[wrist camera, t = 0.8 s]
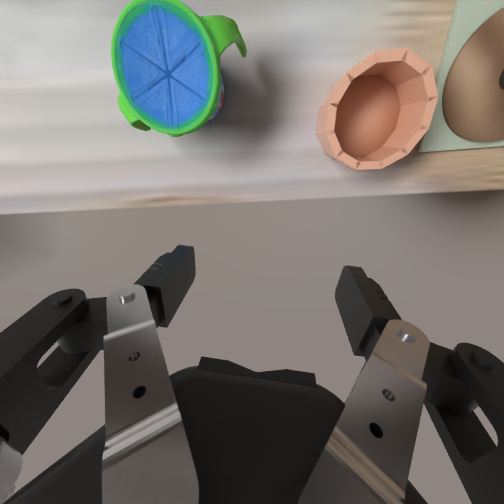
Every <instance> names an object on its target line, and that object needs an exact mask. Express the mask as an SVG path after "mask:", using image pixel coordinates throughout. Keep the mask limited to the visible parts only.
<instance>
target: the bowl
mask: <svg viewBox="0 0 504 504" xmlns="http://www.w3.org/2000/svg"><path fill="white" fill-rule="evenodd" d="M355 78H356V79H355ZM437 100H438V91H437V87H436V83H435V78H434V74H433V69H432V65H430V64H429V63H428V62H426V61H425V60H424V59H422V58H421V57H420V56H418V55H417V54H416V53H414V52H413V51H412V50H410V49H409V48H404V49H393V50H381V51H375V52H374V53H373V54H371V55H370V56H368V57H367V58H366V59H364V60H363V61H362V62H360V63H359V64H357V65H356V66H355V67H353V68H352V69H350V70H349V71H348V72H346V73H345V74H344V75H343V76H342V77H341V78H340V79H339V80H338V81H337V82H335V83H334V84H333V85H332V87H331V88H330V90H329V92H328V94H327V95H326V97H325V99H324V101H323V103H322V104H321V106H320V108H319V110H318V120H317V132H316V135H317V137H318V139H319V142H320V144H321V146H322V148H323V151H324V153H325V154H326V155H328V156H329V157H331V158H333V159H334V160H336V161H338V162H339V163H341V164H343V165H345V166H348V167H350V168H353V169H355V170H366V169H382V168H384V167H386V166H388V165H390V164H392V163H393V162H395V161H397V160H399V159H401V158H403V157H404V156H406V155H408V154H409V152H410V151H411V150H412V149H413V148H414V146H415V145H416V144H417V143H418V141H419V140H420V139H421V138H422V137H423V135H424V134H425V133H426V132H427V130H428V129H429V127H430V123H431V120H432V116H433V113H434V110H435V106H436V103H437Z"/></svg>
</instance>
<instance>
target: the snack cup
mask: <svg viewBox="0 0 504 504" xmlns="http://www.w3.org/2000/svg"><path fill="white" fill-rule="evenodd" d="M232 43H236V45H237V47H238V49H239V51H240V53H241V54H242V56H243V57H246V54H247V50H246V46H245V43H244V41H243V38H242V37H241V34H240V32H239V29H238V26H237V24H236V22H235V21H234V20H233V19H231V18H228V17H225V16H220V15H212V16H205V17H203V16H202V17H200V16H198V15H196V14H195V13H194V12H193V11H192V10H191V9H190V8H189V7H188V6H187V5H185V4H184V3H182V2H181V1H180V0H133V1H131V2H130V3H129V4H128V5H127V6H126V7H125V9H124V10H123V11H122V13H121V14H120V16H119V18H118V20H117V23H116V25H115V28H114V32H113V36H112V45H111V58H112V67H113V72H114V76H115V80H116V83H117V85H118V88H119V90H120V91H119V97H118V104H119V108H120V110H121V112H122V113H123V115H124V116H125V118H126V119H127V121H128V122H129V123H130V124H131V126H133V127H135V128H137V129H140V130H144V131H148V130H150V129H151V128H152V129H154V130H156V131H158V132H161V133H165V134H169V135H170V136H173V137H179V136H182V135H184V134H188V133H191V132H194V131H196V130H198V129H199V128H200V127H202V126H203V125H204V124H205V123H206V122H209V121H210V120H211V119H213V118H214V117H215V116H216V115H217V114H218V113H219V111H220V109H221V107H222V104H223V100H224V82H223V78H222V74H221V70H220V56H221V54H222V53H223V52H224V50H225V49H226V48H227V47H229V46H230V45H231V44H232Z"/></svg>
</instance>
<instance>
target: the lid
mask: <svg viewBox="0 0 504 504" xmlns="http://www.w3.org/2000/svg"><path fill="white" fill-rule="evenodd" d="M442 111H443V116H444V119H445V122H446V123H447V125H448V127H449V128H450V129H451V131H452V132H453V133H455V134H456V135H457V136H459V137H461V138H463V139H465V140H468V141H474V142H491V141H498V140H502V139H504V7H503V8H501V9H500V10H499V11H497V12H496V13H495V14H493V15H492V16H491V17H489V18H488V19H487V20H486V21H485V22H484V23H483V24H481V25H480V27H479V28H478V29H477V30H476V31H475V32H474V33H473V34H472V35H471V36H470V37H469V39H468V40H467V41H466V42H465V44H464V45H463V47H462V48H461V50H460V51H459V52H458V54H457V56H456V58H455V59H454V61H453V63H452V65H451V67H450V70H449V72H448V75H447V77H446V80H445V84H444V88H443V94H442Z"/></svg>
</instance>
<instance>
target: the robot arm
mask: <svg viewBox="0 0 504 504" xmlns="http://www.w3.org/2000/svg"><path fill="white" fill-rule="evenodd" d="M194 278H195V254H194V248H193V247H192V246H185V245H178V246H177V247H176V248H175V249H174V250H173V252H172V253H166V254H164V255H162V256H160V257H159V258H158V259H157V260H156V261H155V262H154V264H152V265H151V266H150V268H149V269H148V270H147V271H146V272H145V273H144V274H143V275H142V276H141V277H140V278H139V279H138V280H137V281H136V282H135V283H134V284H131V285H125V286H122V287H119V288H117V289H115V290H114V291H112V292H111V293H110V294H109V295H108V297H101V298H91V299H87V297H86V295H85V293H84V291H82V290H80V289H67V290H62V291H59V292H56V293H54V294H52V295H50V296H48V297H47V298H45V299H44V300H42V301H41V302H40V303H39V304H37V305H36V306H35V307H33V308H32V309H31V310H30V311H28V312H27V313H26V314H24V315H23V316H22V317H20V318H19V319H18V320H17V321H15V322H14V323H13V324H11V325H10V326H9V327H7V328H6V329H5V330H4V331H2V332H1V333H0V504H428V503H427V502H426V501H425V500H424V498H423V497H422V496H421V495H420V494H419V492H418V491H417V490H416V489H415V487H414V486H413V485H412V484H411V483H410V481H409V480H408V476H409V471H410V466H411V461H412V456H413V452H414V447H415V442H416V437H417V432H418V428H419V423H420V418H421V412H422V408H423V403H424V405H425V407H426V409H427V411H428V413H429V415H430V417H431V419H432V421H433V423H434V426H435V428H436V430H437V432H438V434H439V436H440V438H441V440H442V442H443V444H444V446H445V448H446V450H447V453H448V455H449V457H450V459H451V461H452V463H453V465H454V467H455V469H456V471H457V473H458V475H459V478H460V480H461V482H462V484H463V486H464V488H465V490H466V492H467V494H468V496H469V498H470V500H471V503H472V504H504V363H503V362H502V361H501V360H499V359H498V358H497V357H496V356H494V355H493V354H491V353H490V352H488V351H487V350H485V349H482V348H481V347H478V346H476V345H473V344H470V343H459V344H457V346H456V347H455V348H454V349H453V350H450V349H448V348H445V347H442V346H439V345H436V344H434V343H431V342H429V340H428V338H427V336H426V335H425V334H424V333H423V332H422V331H421V330H420V329H419V328H417V327H416V326H414V325H413V324H411V323H408V322H406V321H403V320H402V319H401V317H400V316H399V314H398V313H397V311H396V310H395V308H394V307H393V305H392V304H391V302H390V301H389V300H388V298H387V296H386V295H385V294H384V292H383V290H382V289H381V287H380V285H379V284H377V283H376V282H375V281H374V280H373V279H371V278H368V277H367V276H366V274H365V272H364V271H363V269H362V268H361V267H355V266H345V267H344V268H343V270H342V273H341V276H340V279H339V282H338V285H337V287H336V291H335V300H336V303H337V306H338V309H339V312H340V315H341V318H342V321H343V324H344V327H345V330H346V333H347V336H348V339H349V342H350V345H351V348H352V350H353V353H354V355H356V356H363V357H365V359H366V362H365V364H364V366H363V368H362V370H361V372H360V374H359V376H358V377H357V379H356V381H355V384H354V385H353V387H352V389H351V391H350V393H349V395H348V397H347V399H346V401H345V402H344V403H343V402H342V401H341V400H340V399H339V398H338V397H337V396H336V395H334V394H333V393H332V392H330V391H329V390H327V389H326V388H324V387H322V386H320V385H318V384H316V379H315V374H314V373H308V372H301V371H294V370H288V369H284V370H275V371H265V372H254V371H252V370H250V369H247V368H245V367H243V366H240V365H238V364H235V363H233V362H231V361H228V360H221V359H215V358H208V357H201V359H200V362H199V365H198V366H193V367H188V368H185V369H182V370H180V371H177V372H176V373H173V374H172V375H170V376H169V373H168V369H167V365H166V362H165V358H164V354H163V350H162V347H161V343H160V340H159V336H158V332H157V328H158V326H160V327H168V325H169V323H170V322H171V320H172V318H173V316H174V315H175V313H176V311H177V309H178V308H179V306H180V304H181V302H182V301H183V299H184V297H185V295H186V293H187V292H188V290H189V288H190V286H191V285H192V283H193V281H194ZM56 341H57V342H58V343H59V346H58V347H57V348H56V349H55V350H54V351H53V352H52V353H51V354H50V355H49V356H48V358H47V359H46V360H45V361H44V362H43V363H42V364H41V365H40V366H39V367H38V368H37V364H38V362H39V360H40V359H41V357H42V356H43V355H44V354H45V353H46V352H47V351H48V350H49V349H50V348H51V346H52V345H54V343H55V342H56ZM100 350H104V388H105V389H104V390H105V425H104V426H102V427H101V428H100V429H98V430H97V431H96V432H94V433H93V434H92V435H90V436H89V437H88V438H87V439H85V440H84V441H83V442H81V443H80V444H79V445H77V446H76V447H75V448H74V449H72V450H71V451H70V452H68V453H67V454H66V455H64V456H63V457H62V458H60V459H59V460H58V461H57V462H55V463H54V464H53V465H51V466H50V467H49V468H47V469H46V470H45V471H43V472H42V473H41V474H39V475H38V476H37V477H36V478H34V479H33V480H32V481H30V482H29V483H28V484H26V485H25V486H24V487H22V488H21V489H20V490H18V491H17V492H16V493H15V494H13V492H14V490H15V482H16V480H17V478H18V476H19V474H20V471H21V468H22V463H23V460H22V455H23V454H24V452H25V451H26V450H27V448H28V447H29V445H30V444H31V443H32V441H33V440H34V439H35V437H36V436H37V435H38V433H39V432H40V431H41V429H42V428H43V427H44V425H45V424H46V422H47V421H48V420H49V419H50V417H51V416H52V414H53V413H54V412H55V410H56V409H57V408H58V406H59V405H60V404H61V402H62V401H63V400H64V398H65V397H66V396H67V394H68V393H69V392H70V390H71V388H72V387H73V386H74V385H75V383H76V382H77V380H78V379H79V378H80V377H81V375H82V374H83V373H84V371H85V370H86V369H87V367H88V366H89V364H90V363H91V362H92V360H93V359H94V358H95V356H96V355H97V353H98V352H99V351H100ZM478 406H479V407H480V408H481V410H482V411H483V412H484V414H485V415H486V417H487V418H488V420H489V421H490V423H491V424H492V426H493V427H494V429H495V431H496V433H497V436H498V445H497V447H496V445H495V444H494V442H493V440H492V439H491V437H490V436H489V434H488V433H487V431H486V430H485V428H484V427H483V425H482V423H481V422H480V420H479V419H478V417H477V416H476V414H475V413H474V411H473V410H474V409H476V408H477V407H478ZM12 494H13V495H12Z"/></svg>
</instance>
